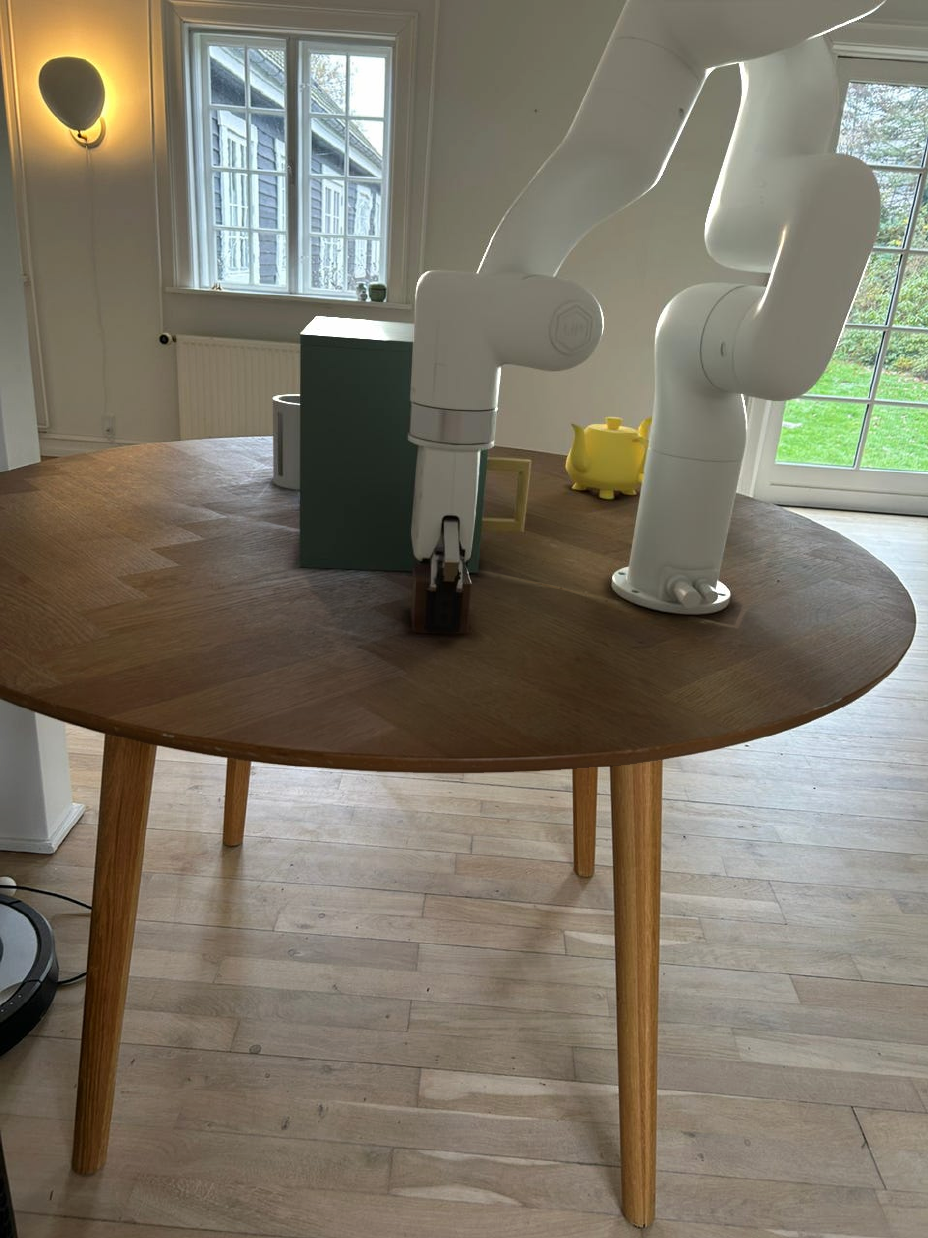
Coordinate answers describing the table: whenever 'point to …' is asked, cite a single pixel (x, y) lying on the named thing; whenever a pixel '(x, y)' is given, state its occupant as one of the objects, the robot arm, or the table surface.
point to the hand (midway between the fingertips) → (438, 611)
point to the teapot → (608, 457)
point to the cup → (286, 441)
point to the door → (480, 522)
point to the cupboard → (356, 445)
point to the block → (419, 597)
